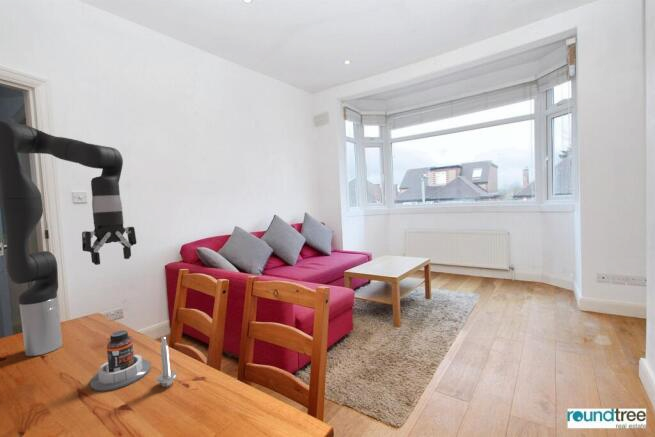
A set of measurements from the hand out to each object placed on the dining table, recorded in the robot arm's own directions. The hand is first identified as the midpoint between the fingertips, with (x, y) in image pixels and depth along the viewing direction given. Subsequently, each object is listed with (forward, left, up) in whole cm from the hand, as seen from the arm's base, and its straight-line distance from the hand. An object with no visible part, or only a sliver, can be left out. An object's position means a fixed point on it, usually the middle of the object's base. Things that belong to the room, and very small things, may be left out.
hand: (112, 261), depth 96 cm
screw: (+30, -4, -30) cm, 43 cm away
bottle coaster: (+14, -7, -30) cm, 34 cm away
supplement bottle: (+14, -7, -30) cm, 33 cm away
